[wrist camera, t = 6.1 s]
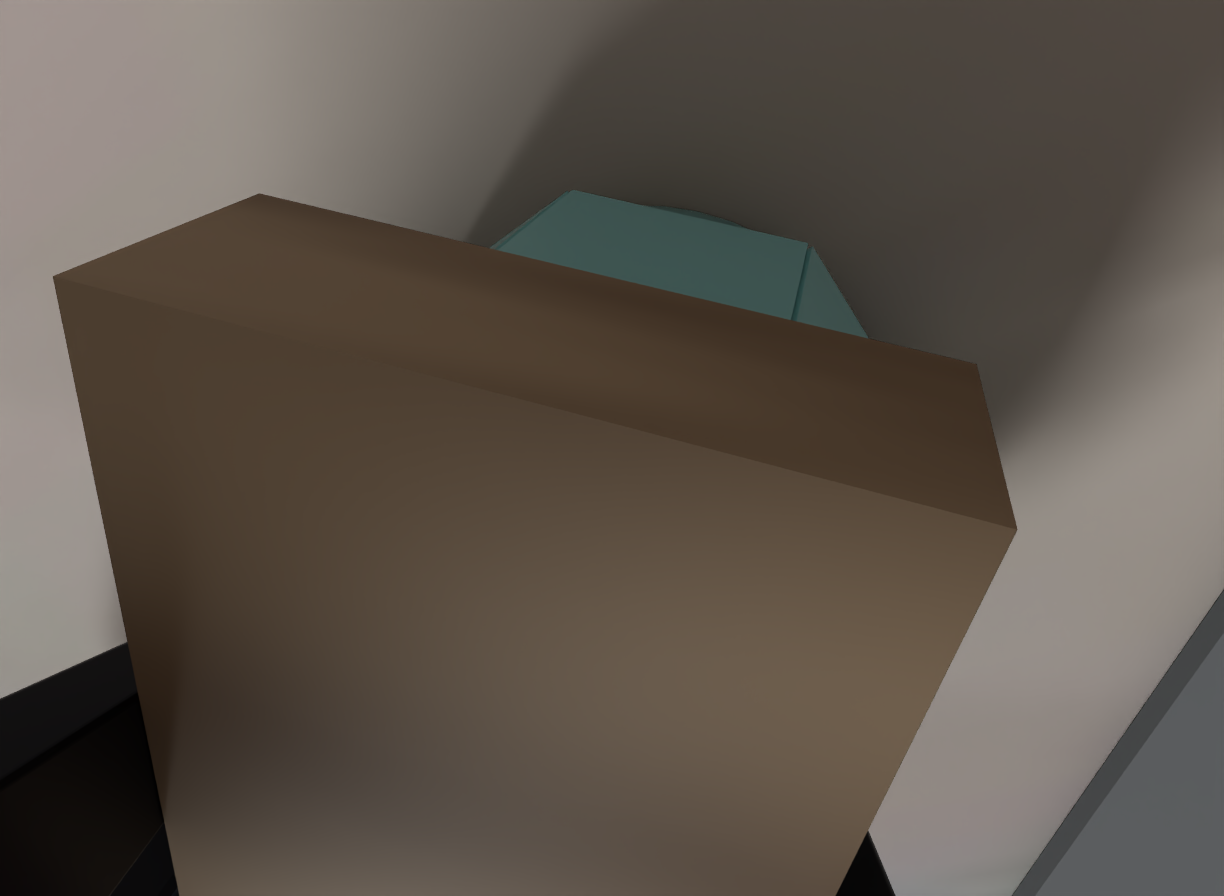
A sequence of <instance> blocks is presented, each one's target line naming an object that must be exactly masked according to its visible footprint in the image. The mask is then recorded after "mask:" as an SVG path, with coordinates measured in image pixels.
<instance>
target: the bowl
mask: <svg viewBox="0 0 1224 896" xmlns="http://www.w3.org/2000/svg"><path fill="white" fill-rule="evenodd" d="M807 246H808V243H806V242H801V241H797V240H793V239H788V238H784V237H779V236H775V235H771V234H766V233H762V232H757V231H753V230H749V229H747V228H745V227H743V226H740V225H738V224H736V223H734V222H731V221H728V220H725V219H721V218H718V217H715V216H711V215H708V214H704V213H701V212H698V211H692V210H685V209H679V208H672V207H666V206H643V205H638V204H634V203H629V202H625V201H620V200H616V199H612V198H607V197H603V196H598V195H594V194H590V193H585V192H581V191H576V190H571V191H570V192H568V191H566V192H565V193H564V194H562V195H561V196H559V197H558V198H557V199H555V200H554V201H553V202H551V203H550V204H548V205H547V206H546V207H544V208H543V209H542V210H540V211H539V212H537V213H536V214H535V215H533V216H532V217H531V218H529V219H528V220H527V221H525V222H524V223H522V224H521V225H520V226H518V227H517V228H516V229H514V230H513V231H511V232H510V233H509V234H507V235H506V236H505V237H503V238H502V239H500V240H499V241H498V242H496V243H495V244H494V245H492V246H491V247H489V248H490V249H495V250H499V251H503V252H507V253H511V254H516V255H520V256H524V257H528V258H532V259H537V260H541V261H545V262H549V263H553V264H558V265H562V266H566V267H570V268H574V269H579V270H583V271H587V272H591V273H595V274H600V275H604V276H608V277H612V278H616V279H621V280H625V281H629V282H633V283H637V284H642V285H646V286H650V287H654V288H658V289H663V290H667V291H671V292H675V293H679V294H684V295H688V296H692V297H696V298H700V299H705V300H709V301H713V302H717V303H721V304H726V305H730V306H734V307H738V308H742V309H747V310H751V311H755V312H759V313H763V314H768V315H772V316H776V317H780V318H784V319H789V320H793V321H797V322H801V323H805V324H810V325H814V326H818V327H822V328H826V329H831V330H835V331H839V332H843V333H847V334H852V335H856V336H860V337H864V338H868V336H867V335H866V333H865V331H864V330H863V328H862V326H861V325H860V323H859V322H858V320H857V318H856V317H855V315H854V313H853V312H852V310H851V308H850V307H849V305H848V303H847V302H846V300H845V299H844V297H843V295H842V294H841V292H840V290H839V289H838V287H837V285H836V284H835V282H834V280H833V279H832V277H831V276H830V274H829V272H828V271H827V269H826V267H825V266H824V264H823V262H822V261H821V259H820V257H819V256H818V254H817V253H816V251H815V249H814V248H813V246H812V247H810V248H809V249H807ZM868 339H869V338H868Z"/></svg>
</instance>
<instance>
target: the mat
mask: <svg viewBox="0 0 1224 896" xmlns="http://www.w3.org/2000/svg"><path fill="white" fill-rule="evenodd" d="M1013 896H1224V591H1223V592H1222V594H1221V595H1220V596H1219V598H1218V599H1217V601H1216V602H1215V604H1214V605H1213V607H1212V608H1211V609H1210V611H1209V612H1208V614H1207V615H1206V617H1205V618H1204V620H1203V621H1202V622H1201V624H1200V625H1199V627H1198V628H1197V630H1196V631H1195V633H1194V634H1193V636H1192V637H1191V638H1190V640H1189V641H1188V643H1187V644H1186V646H1185V647H1184V649H1183V650H1182V651H1181V653H1180V654H1179V656H1178V657H1177V659H1176V660H1175V662H1174V663H1173V664H1172V666H1171V667H1170V669H1169V670H1168V672H1167V673H1166V675H1165V676H1164V677H1163V679H1162V680H1161V682H1160V683H1159V685H1158V686H1157V688H1156V689H1155V690H1154V692H1153V693H1152V695H1151V696H1150V698H1149V699H1148V701H1147V702H1146V703H1145V705H1144V706H1143V708H1142V709H1141V711H1140V712H1139V714H1138V715H1137V716H1136V718H1135V719H1134V721H1133V722H1132V724H1131V725H1130V727H1129V728H1128V729H1127V731H1126V732H1125V734H1124V735H1123V737H1122V738H1121V740H1120V741H1119V742H1118V744H1117V745H1116V747H1115V748H1114V750H1113V751H1112V753H1111V754H1110V755H1109V757H1108V758H1107V760H1106V761H1105V763H1104V764H1103V766H1102V767H1101V768H1100V770H1099V771H1098V773H1097V774H1096V776H1095V777H1094V779H1093V780H1092V781H1091V783H1090V784H1089V786H1088V787H1087V789H1086V790H1085V792H1084V793H1083V794H1082V796H1081V797H1080V799H1079V800H1078V802H1077V803H1076V805H1075V806H1074V807H1073V809H1072V810H1071V812H1070V813H1069V815H1068V816H1067V818H1066V819H1065V820H1064V822H1063V823H1062V825H1061V826H1060V828H1059V829H1058V831H1057V832H1056V833H1055V835H1054V836H1053V838H1052V839H1051V841H1050V842H1049V844H1048V845H1047V846H1046V848H1045V849H1044V851H1043V852H1042V854H1041V855H1040V857H1039V858H1038V859H1037V861H1036V862H1035V864H1034V865H1033V867H1032V868H1031V870H1030V871H1029V872H1028V874H1027V875H1026V877H1025V878H1024V880H1023V881H1022V883H1021V884H1020V885H1019V887H1018V888H1017V890H1016V891H1015V893H1014V894H1013Z"/></svg>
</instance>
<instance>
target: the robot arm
mask: <svg viewBox="0 0 1224 896" xmlns="http://www.w3.org/2000/svg"><path fill="white" fill-rule="evenodd" d="M0 896H179V891H178V886H177V881H176V876H175V872H174V867H173V862H172V857H171V852H170V847H169V842H168V837H167V832H166V828H165V823H164V818H163V813H162V808H161V803H160V798H159V793H158V788H157V783H156V779H155V774H154V769H153V764H152V759H151V754H150V749H149V744H148V739H147V735H146V730H145V725H144V720H143V715H142V710H141V705H140V700H139V695H138V691H137V686H136V681H135V676H134V671H133V666H132V661H131V656H130V651H129V646H128V642H126V643H124V644H121V645H119V646H117V647H115V648H112V649H110V650H108V651H106V652H103V653H101V654H99V655H97V656H95V657H92V658H90V659H88V660H86V661H83V662H81V663H79V664H77V665H74V666H72V667H70V668H68V669H66V670H63V671H61V672H59V673H57V674H54V675H52V676H50V677H48V678H45V679H43V680H41V681H39V682H37V683H34V684H32V685H30V686H28V687H25V688H23V689H21V690H19V691H17V692H14V693H12V694H10V695H8V696H5V697H3V698H1V699H0ZM836 896H895V894H894V891H893V889H892V886H891V884H890V882H889V879H888V877H887V874H886V872H885V869H884V867H883V865H882V862H881V860H880V857H879V855H878V853H877V850H876V848H875V845H874V843H873V841H872V838H871V836H870V833H869V831H867V833H866V835H865V837H864V839H863V841H862V843H861V845H860V847H859V849H858V851H857V853H856V855H855V857H854V859H853V861H852V863H851V865H850V867H849V869H848V871H847V874H846V876H845V878H844V880H843V882H842V884H841V886H840V888H839V890H838V892H837V894H836Z"/></svg>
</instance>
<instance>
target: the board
mask: <svg viewBox="0 0 1224 896" xmlns="http://www.w3.org/2000/svg"><path fill="white" fill-rule="evenodd" d="M53 279H54V284H55V289H56V294H57V299H58V304H59V309H60V314H61V319H62V324H63V328H64V333H65V338H66V343H67V348H68V353H69V358H70V363H71V368H72V372H73V377H74V382H75V387H76V392H77V397H78V402H79V407H80V412H81V417H82V421H83V426H84V431H85V436H86V441H87V446H88V451H89V456H90V461H91V465H92V470H93V475H94V480H95V485H96V490H97V495H98V500H99V505H100V509H101V514H102V519H103V524H104V529H105V534H106V539H107V544H108V549H109V554H110V558H111V563H112V568H113V573H114V578H115V583H116V588H117V593H118V598H119V602H120V607H121V612H122V617H123V622H124V627H125V632H126V637H127V642H128V646H129V651H130V656H131V661H132V666H133V671H134V676H135V681H136V686H137V691H138V695H139V700H140V705H141V710H142V715H143V720H144V725H145V730H146V735H147V739H148V744H149V749H150V754H151V759H152V764H153V769H154V774H155V779H156V783H157V788H158V793H159V798H160V803H161V808H162V813H163V818H164V823H165V828H166V832H167V837H168V842H169V847H170V852H171V857H172V862H173V867H174V872H175V876H176V881H177V886H178V891H179V896H836V894H837V892H838V890H839V888H840V886H841V884H842V882H843V880H844V878H845V876H846V874H847V871H848V869H849V867H850V865H851V863H852V861H853V859H854V857H855V855H856V853H857V851H858V849H859V847H860V845H861V843H862V841H863V839H864V837H865V835H866V833H867V831H868V829H869V827H870V825H871V823H872V821H873V819H874V817H875V815H876V813H877V811H878V809H879V807H880V805H881V803H882V801H883V799H884V797H885V795H886V793H887V791H888V789H889V787H890V785H891V783H892V781H893V779H894V777H895V775H896V773H897V771H898V769H899V767H900V765H901V763H902V761H903V759H904V757H905V755H906V753H907V751H908V749H909V747H910V745H911V743H912V741H913V739H914V737H915V735H916V733H917V731H918V729H919V727H920V725H921V723H922V721H923V719H924V717H925V715H926V713H927V711H928V709H929V706H930V704H931V702H932V700H933V698H934V696H935V694H936V692H937V690H938V688H939V686H940V684H941V682H942V680H943V678H944V676H945V674H946V672H947V670H948V668H949V666H950V664H951V662H952V660H953V658H954V656H955V654H956V652H957V650H958V648H959V646H960V644H961V642H962V640H963V638H964V636H965V634H966V632H967V630H968V628H969V626H970V624H971V622H972V620H973V618H974V616H975V614H976V612H977V610H978V608H979V606H980V604H981V602H982V600H983V598H984V596H985V594H986V592H987V590H988V588H989V586H990V584H991V582H992V580H993V578H994V576H995V574H996V572H997V570H998V568H999V566H1000V564H1001V562H1002V560H1003V558H1004V556H1005V554H1006V552H1007V550H1008V548H1009V546H1010V544H1011V542H1012V539H1013V537H1014V535H1015V533H1016V531H1017V526H1016V522H1015V518H1014V514H1013V510H1012V506H1011V502H1010V498H1009V494H1008V490H1007V486H1006V481H1005V477H1004V473H1003V469H1002V465H1001V461H1000V457H999V453H998V449H997V445H996V441H995V437H994V433H993V429H992V425H991V421H990V417H989V413H988V409H987V405H986V401H985V397H984V393H983V388H982V384H981V380H980V376H979V372H978V368H977V364H974V363H969V362H965V361H961V360H957V359H952V358H948V357H944V356H940V355H936V354H931V353H927V352H923V351H919V350H915V349H910V348H906V347H902V346H898V345H894V344H889V343H885V342H881V341H877V340H873V339H868V338H864V337H860V336H856V335H852V334H847V333H843V332H839V331H835V330H831V329H826V328H822V327H818V326H814V325H810V324H805V323H801V322H797V321H793V320H789V319H784V318H780V317H776V316H772V315H768V314H763V313H759V312H755V311H751V310H747V309H742V308H738V307H734V306H730V305H726V304H721V303H717V302H713V301H709V300H705V299H700V298H696V297H692V296H688V295H684V294H679V293H675V292H671V291H667V290H663V289H658V288H654V287H650V286H646V285H642V284H637V283H633V282H629V281H625V280H621V279H616V278H612V277H608V276H604V275H600V274H595V273H591V272H587V271H583V270H579V269H574V268H570V267H566V266H562V265H558V264H553V263H549V262H545V261H541V260H537V259H532V258H528V257H524V256H520V255H516V254H511V253H507V252H503V251H499V250H495V249H490V248H486V247H482V246H478V245H474V244H469V243H465V242H461V241H457V240H453V239H448V238H444V237H440V236H436V235H432V234H427V233H423V232H419V231H415V230H411V229H406V228H402V227H398V226H394V225H390V224H385V223H381V222H377V221H373V220H369V219H364V218H360V217H356V216H352V215H348V214H343V213H339V212H335V211H331V210H327V209H322V208H318V207H314V206H310V205H306V204H301V203H297V202H293V201H289V200H285V199H280V198H276V197H272V196H268V195H264V194H257V195H254V196H252V197H249V198H247V199H244V200H242V201H239V202H237V203H234V204H232V205H229V206H227V207H224V208H222V209H219V210H217V211H214V212H212V213H209V214H207V215H204V216H202V217H199V218H197V219H194V220H192V221H189V222H187V223H184V224H182V225H179V226H177V227H174V228H172V229H169V230H167V231H164V232H162V233H159V234H157V235H154V236H152V237H150V238H147V239H145V240H142V241H140V242H137V243H135V244H132V245H130V246H127V247H125V248H122V249H120V250H117V251H115V252H112V253H110V254H107V255H105V256H102V257H100V258H97V259H95V260H92V261H90V262H87V263H85V264H82V265H80V266H77V267H75V268H72V269H70V270H67V271H65V272H62V273H60V274H57V275H55V276H53Z"/></svg>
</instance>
